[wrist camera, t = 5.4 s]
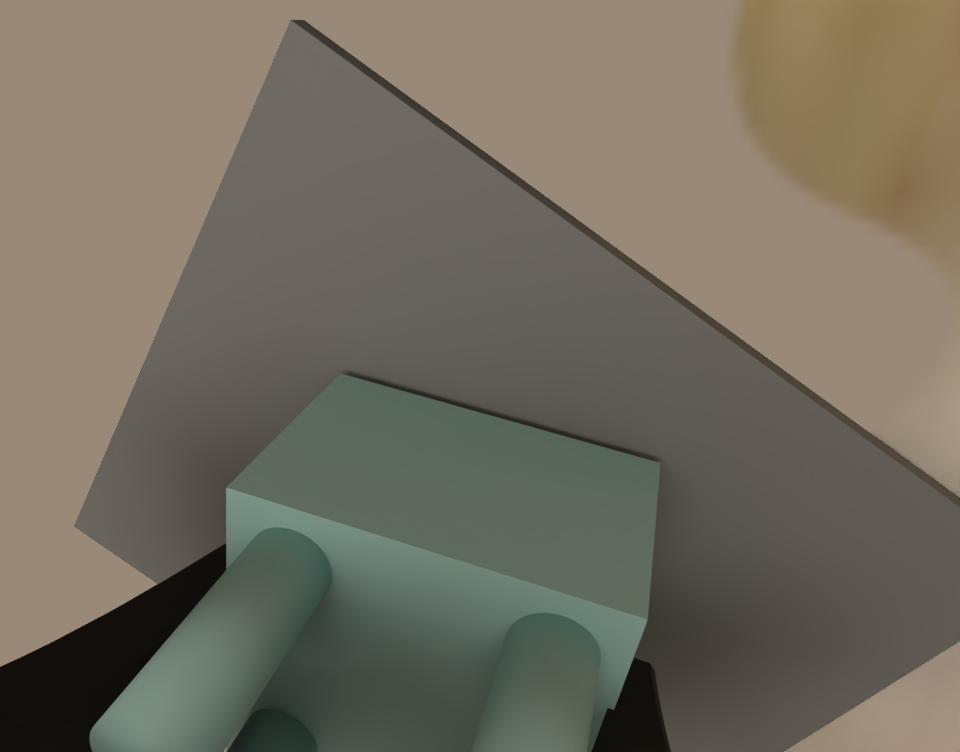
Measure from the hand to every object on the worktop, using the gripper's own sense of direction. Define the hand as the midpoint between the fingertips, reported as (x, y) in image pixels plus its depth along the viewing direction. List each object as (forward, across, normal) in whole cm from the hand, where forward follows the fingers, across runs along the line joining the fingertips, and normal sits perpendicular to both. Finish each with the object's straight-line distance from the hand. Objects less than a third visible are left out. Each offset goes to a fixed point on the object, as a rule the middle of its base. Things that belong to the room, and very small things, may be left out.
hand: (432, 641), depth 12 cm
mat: (+3, 0, 0) cm, 3 cm away
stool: (+2, 0, 0) cm, 2 cm away
